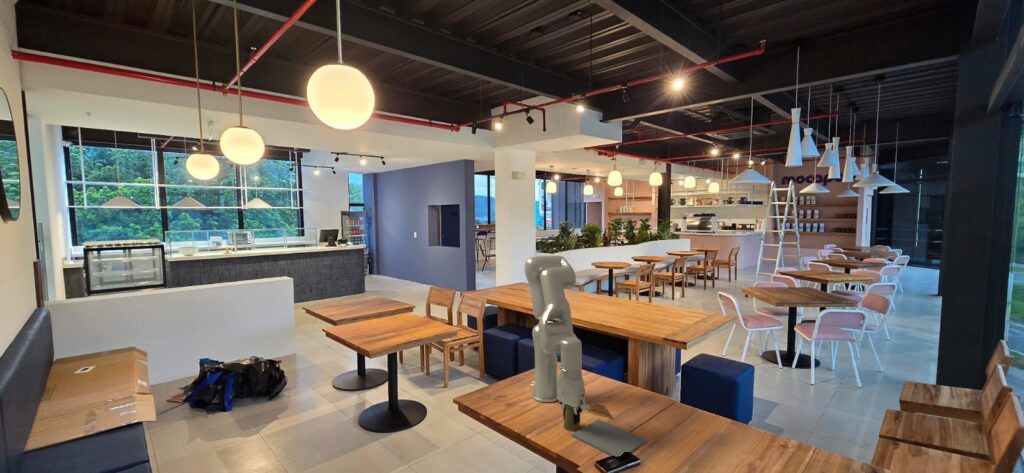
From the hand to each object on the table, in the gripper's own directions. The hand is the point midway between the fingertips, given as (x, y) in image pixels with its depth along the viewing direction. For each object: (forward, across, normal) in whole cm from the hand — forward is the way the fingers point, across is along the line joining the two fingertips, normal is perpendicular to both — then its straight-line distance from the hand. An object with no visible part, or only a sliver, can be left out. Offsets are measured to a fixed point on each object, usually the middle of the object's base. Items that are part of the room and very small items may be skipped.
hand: (571, 420), depth 155 cm
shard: (+3, 0, +18) cm, 18 cm away
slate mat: (+2, +14, +3) cm, 14 cm away
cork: (+2, 0, 0) cm, 2 cm away
